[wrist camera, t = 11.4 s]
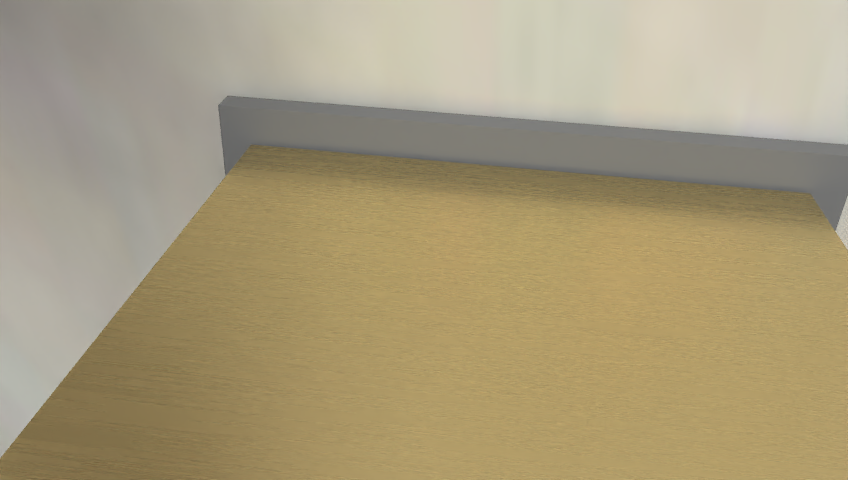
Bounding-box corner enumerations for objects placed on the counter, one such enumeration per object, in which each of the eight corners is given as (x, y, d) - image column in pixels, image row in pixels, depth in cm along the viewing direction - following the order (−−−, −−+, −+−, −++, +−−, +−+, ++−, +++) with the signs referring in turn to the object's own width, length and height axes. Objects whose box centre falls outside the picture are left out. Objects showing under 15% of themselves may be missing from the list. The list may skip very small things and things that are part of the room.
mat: (267, 507, 16) (262, 522, 16) (227, 95, 12) (218, 105, 11) (709, 564, 16) (714, 581, 15) (851, 145, 11) (861, 157, 11)
